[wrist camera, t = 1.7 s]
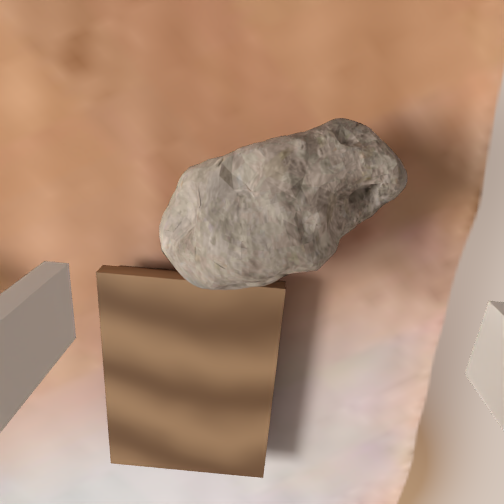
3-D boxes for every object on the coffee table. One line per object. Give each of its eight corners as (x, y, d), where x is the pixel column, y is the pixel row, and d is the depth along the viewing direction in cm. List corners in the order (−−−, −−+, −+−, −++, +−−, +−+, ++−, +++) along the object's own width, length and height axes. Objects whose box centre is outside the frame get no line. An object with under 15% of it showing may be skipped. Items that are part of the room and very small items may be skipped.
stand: (112, 255, 31) (96, 272, 28) (284, 270, 30) (285, 289, 28) (122, 435, 37) (110, 463, 35) (263, 448, 37) (262, 477, 34)
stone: (388, 229, 29) (443, 296, 20) (195, 268, 31) (162, 347, 21) (372, 101, 26) (428, 110, 16) (158, 154, 28) (101, 188, 18)
